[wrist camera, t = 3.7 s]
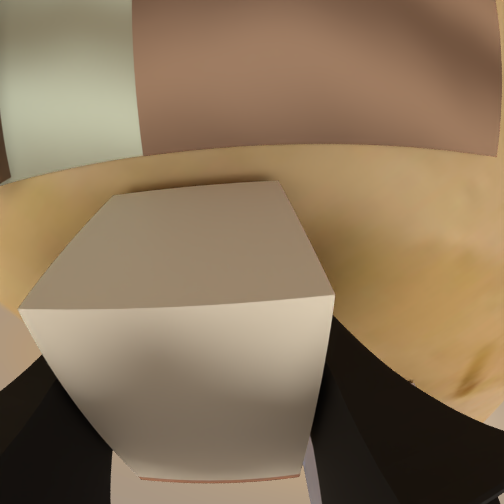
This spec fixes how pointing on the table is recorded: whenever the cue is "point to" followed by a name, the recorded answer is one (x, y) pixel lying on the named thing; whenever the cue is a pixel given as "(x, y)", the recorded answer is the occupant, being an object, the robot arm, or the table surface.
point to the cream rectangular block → (191, 331)
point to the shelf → (242, 77)
